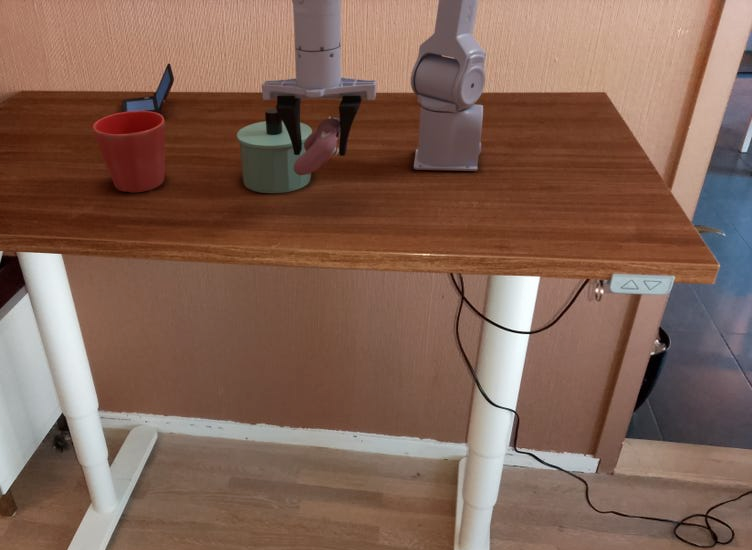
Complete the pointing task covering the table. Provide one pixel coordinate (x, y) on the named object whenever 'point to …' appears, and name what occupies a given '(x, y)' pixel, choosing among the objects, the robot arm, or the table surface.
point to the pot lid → (269, 133)
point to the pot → (271, 169)
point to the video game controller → (319, 147)
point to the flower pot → (133, 149)
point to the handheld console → (155, 101)
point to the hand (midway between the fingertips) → (320, 152)
